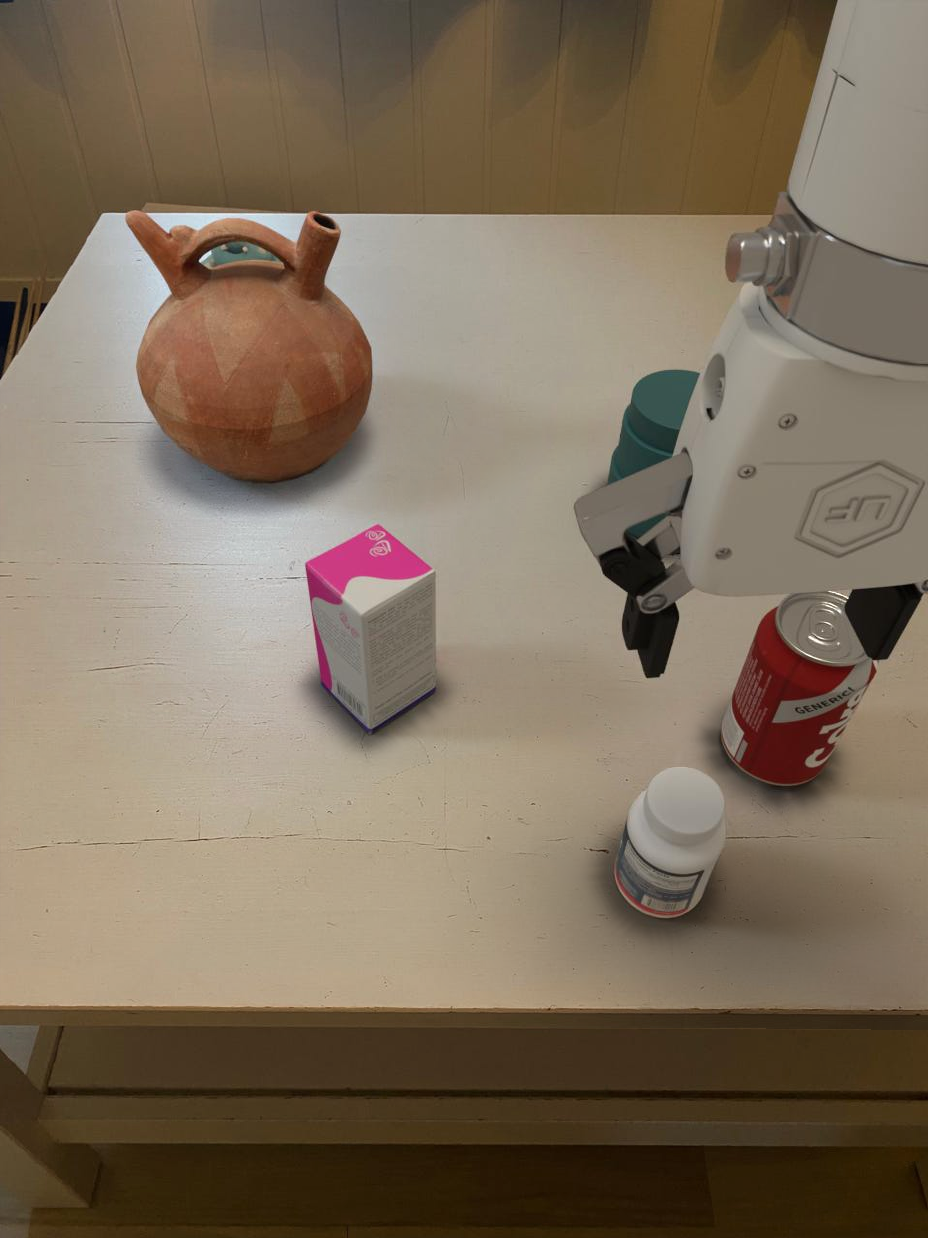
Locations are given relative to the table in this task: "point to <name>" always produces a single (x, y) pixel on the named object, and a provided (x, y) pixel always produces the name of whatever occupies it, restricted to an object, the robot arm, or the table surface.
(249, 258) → the stuffed animal
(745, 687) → the soda can
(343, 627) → the supplement box
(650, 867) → the pill bottle
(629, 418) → the cup stack
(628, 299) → the table surface
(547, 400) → the table surface
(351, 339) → the jug
